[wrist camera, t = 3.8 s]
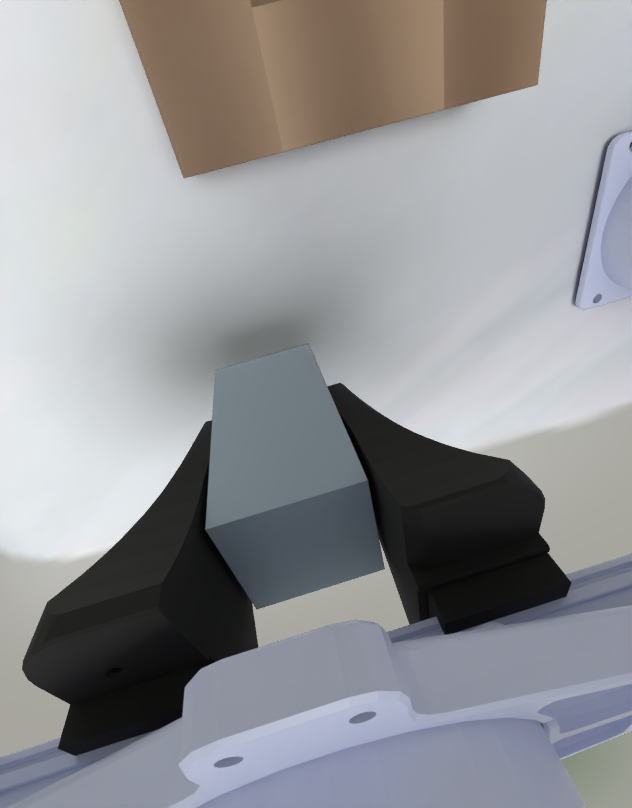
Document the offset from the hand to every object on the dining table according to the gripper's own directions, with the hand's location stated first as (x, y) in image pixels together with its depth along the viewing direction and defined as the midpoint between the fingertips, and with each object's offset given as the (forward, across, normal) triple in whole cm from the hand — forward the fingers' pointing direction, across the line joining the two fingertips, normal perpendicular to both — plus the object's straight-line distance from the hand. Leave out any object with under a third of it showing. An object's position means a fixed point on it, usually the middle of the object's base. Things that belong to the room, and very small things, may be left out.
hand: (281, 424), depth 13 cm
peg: (+2, 0, 0) cm, 2 cm away
